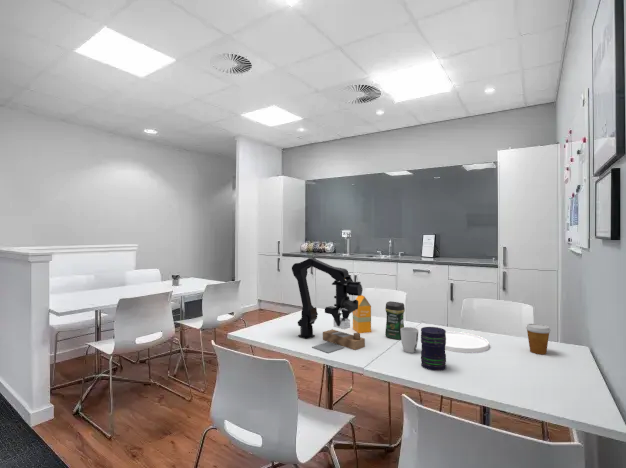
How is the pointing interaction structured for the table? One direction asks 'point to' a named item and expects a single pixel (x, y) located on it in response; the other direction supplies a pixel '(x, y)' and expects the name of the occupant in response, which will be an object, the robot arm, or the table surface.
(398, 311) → the coffee jar
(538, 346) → the disposable coffee cup
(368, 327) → the orange juice
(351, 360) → the table surface
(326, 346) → the rubber mat
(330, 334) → the hand plane
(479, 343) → the plate
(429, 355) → the storage jar
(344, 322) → the lever cap
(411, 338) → the cup
